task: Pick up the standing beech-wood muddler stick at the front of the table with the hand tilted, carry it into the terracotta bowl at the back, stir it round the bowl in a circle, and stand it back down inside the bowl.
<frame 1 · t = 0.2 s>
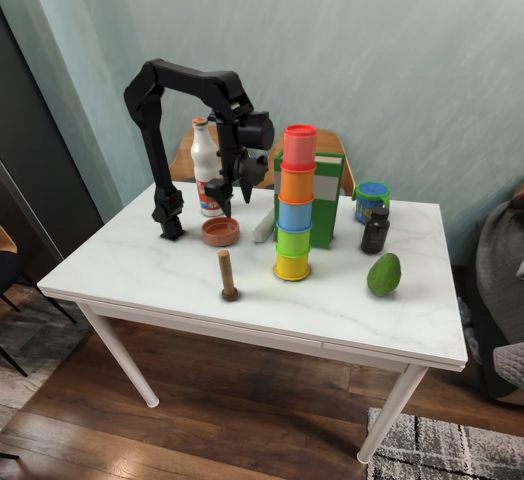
hand: (238, 210, 83), 14 cm above the table, tool pointing down, fingers open, 9 cm apart
fruit juice: (214, 211, 114), on the table
stacking cups: (291, 271, 89), on the table
muddler: (230, 296, 83), on the table
supplement bottle: (370, 249, 94), on the table
bowl: (221, 237, 102), on the table
snack cup: (365, 219, 106), on the table
tube: (273, 226, 105), on the table
hardback book: (303, 239, 99), on the table
avocado: (378, 293, 82), on the table
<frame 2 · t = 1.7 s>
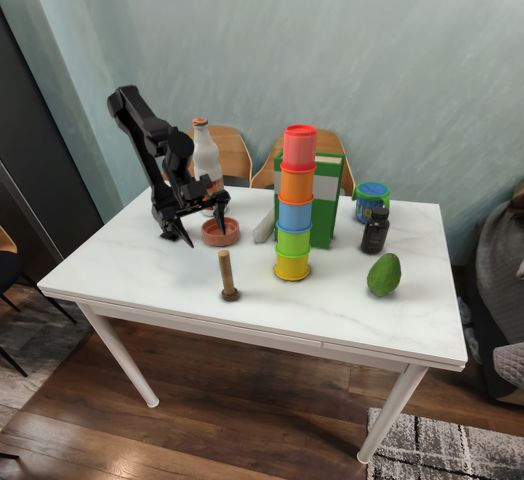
hand: (209, 241, 78), 12 cm above the table, tool tilted 45°, fingers open, 9 cm apart
nothing on the table moved.
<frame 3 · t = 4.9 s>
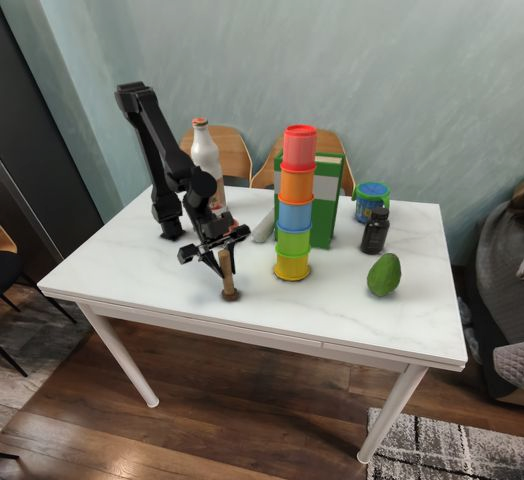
hand: (229, 276, 76), 7 cm above the table, tool tilted 45°, fingers closed on muddler, 3 cm apart
muddler: (230, 296, 83), on the table, touching gripper
everything else where it was.
when the fingers open (8 cm above the table, at t = 13.8 s): muddler stays where it is, resting on bowl.
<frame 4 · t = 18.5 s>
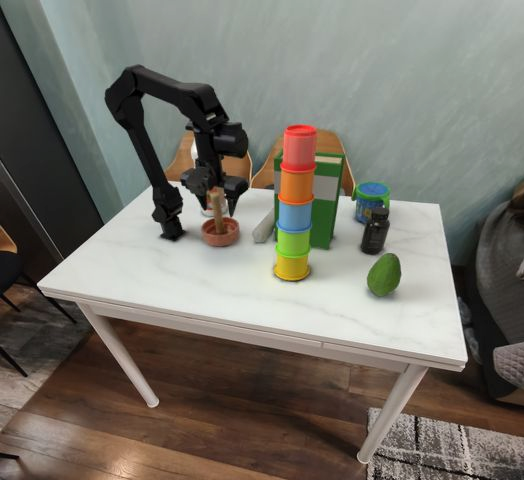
hand: (218, 213, 88), 12 cm above the table, tool pointing down, fingers open, 9 cm apart
muddler: (221, 235, 101), point 1 cm above the table, touching bowl
everything else where it was.
at the end: muddler inside the target area in the bowl (0.1 cm from its centre), point 0.6 cm above the bowl's base; muddler tilted 0°; the gripper is holding nothing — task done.
